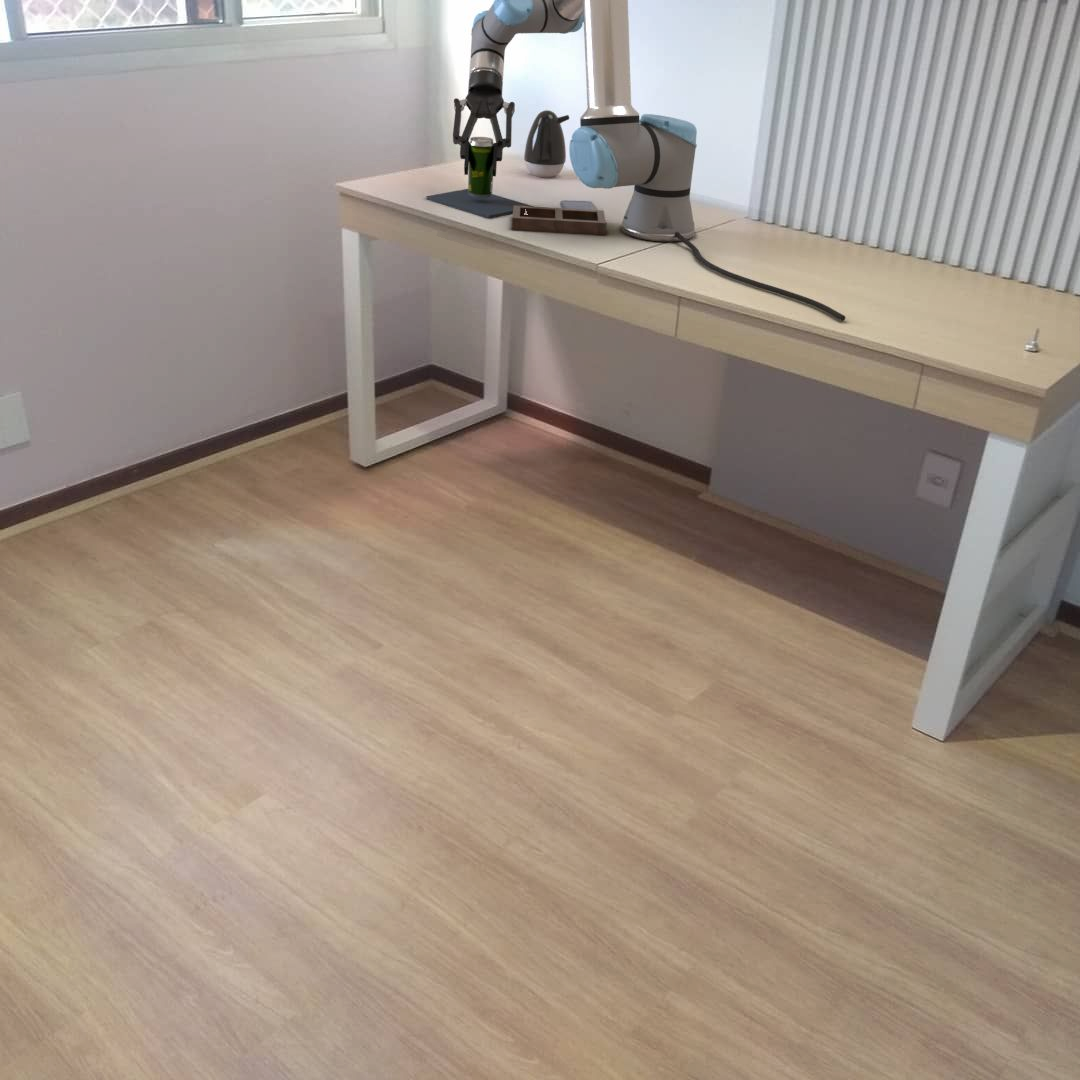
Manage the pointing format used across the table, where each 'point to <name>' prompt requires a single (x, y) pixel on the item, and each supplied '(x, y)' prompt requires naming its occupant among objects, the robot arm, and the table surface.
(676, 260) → the table surface
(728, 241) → the table surface
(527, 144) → the pump dispenser
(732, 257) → the table surface
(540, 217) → the can stand
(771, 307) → the table surface
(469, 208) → the slate mat
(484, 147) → the beer can
